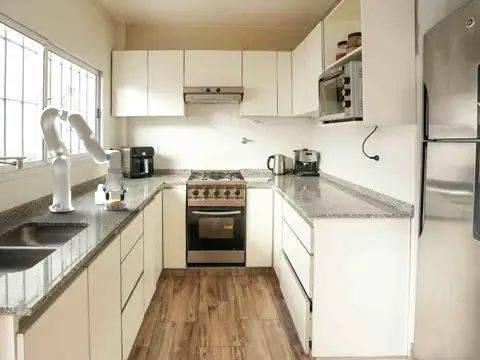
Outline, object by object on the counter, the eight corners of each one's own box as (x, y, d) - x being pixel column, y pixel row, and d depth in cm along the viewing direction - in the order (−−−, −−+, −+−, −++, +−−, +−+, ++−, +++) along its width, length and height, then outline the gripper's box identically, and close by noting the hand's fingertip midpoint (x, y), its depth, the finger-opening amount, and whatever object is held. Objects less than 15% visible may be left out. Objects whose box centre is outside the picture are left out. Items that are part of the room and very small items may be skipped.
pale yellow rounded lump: (117, 208, 278) (117, 201, 277) (106, 208, 279) (106, 201, 279) (123, 206, 285) (123, 200, 284) (112, 206, 286) (112, 199, 286)
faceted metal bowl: (119, 210, 275) (119, 205, 274) (100, 209, 277) (100, 204, 277) (129, 207, 287) (129, 202, 286) (110, 206, 290) (110, 201, 289)
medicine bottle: (104, 202, 309) (104, 184, 308) (111, 203, 304) (111, 184, 303) (95, 203, 303) (94, 184, 302) (101, 204, 299) (101, 185, 298)
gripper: (130, 171, 282) (131, 200, 283) (104, 170, 286) (105, 199, 287) (124, 172, 274) (125, 201, 276) (97, 171, 278) (98, 200, 280)
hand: (115, 200), depth 282 cm, fingers open, 9 cm apart
